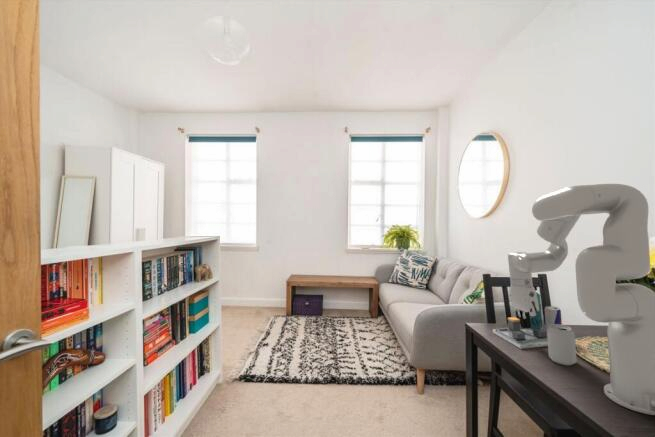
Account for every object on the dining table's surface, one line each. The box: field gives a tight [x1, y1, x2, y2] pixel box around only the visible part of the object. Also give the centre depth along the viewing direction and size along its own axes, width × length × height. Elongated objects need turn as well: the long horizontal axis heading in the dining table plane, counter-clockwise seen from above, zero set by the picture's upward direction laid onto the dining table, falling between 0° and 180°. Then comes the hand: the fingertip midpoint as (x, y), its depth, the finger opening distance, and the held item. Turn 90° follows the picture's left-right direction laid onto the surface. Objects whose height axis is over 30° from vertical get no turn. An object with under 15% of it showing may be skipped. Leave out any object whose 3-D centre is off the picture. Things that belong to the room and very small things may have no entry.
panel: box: [492, 326, 548, 350], centre depth 117 cm, size 16×14×4 cm
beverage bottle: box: [530, 284, 544, 330], centre depth 125 cm, size 6×7×20 cm
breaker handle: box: [507, 316, 521, 331], centre depth 121 cm, size 3×3×5 cm
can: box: [546, 324, 578, 366], centre depth 98 cm, size 8×8×12 cm
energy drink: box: [544, 305, 563, 336], centre depth 117 cm, size 5×5×12 cm
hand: (525, 327), depth 115 cm, fingers closed
